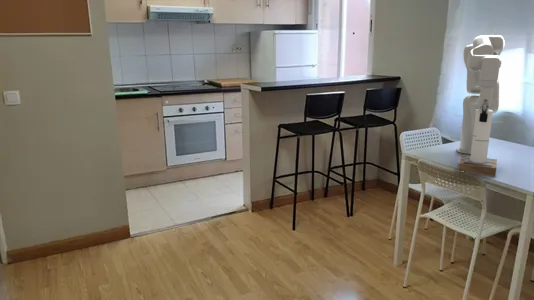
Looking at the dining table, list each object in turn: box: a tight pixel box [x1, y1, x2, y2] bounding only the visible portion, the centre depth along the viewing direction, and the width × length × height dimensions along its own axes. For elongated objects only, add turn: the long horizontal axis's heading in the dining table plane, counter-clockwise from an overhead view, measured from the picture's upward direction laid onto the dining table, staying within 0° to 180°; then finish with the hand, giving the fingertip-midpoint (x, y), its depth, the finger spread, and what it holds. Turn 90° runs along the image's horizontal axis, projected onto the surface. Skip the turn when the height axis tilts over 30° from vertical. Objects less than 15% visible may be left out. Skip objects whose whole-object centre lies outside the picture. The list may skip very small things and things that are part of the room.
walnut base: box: [457, 155, 498, 177], centre depth 204 cm, size 16×16×4 cm
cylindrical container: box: [470, 109, 494, 163], centre depth 200 cm, size 7×7×25 cm
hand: (483, 119), depth 198 cm, fingers open, 9 cm apart
